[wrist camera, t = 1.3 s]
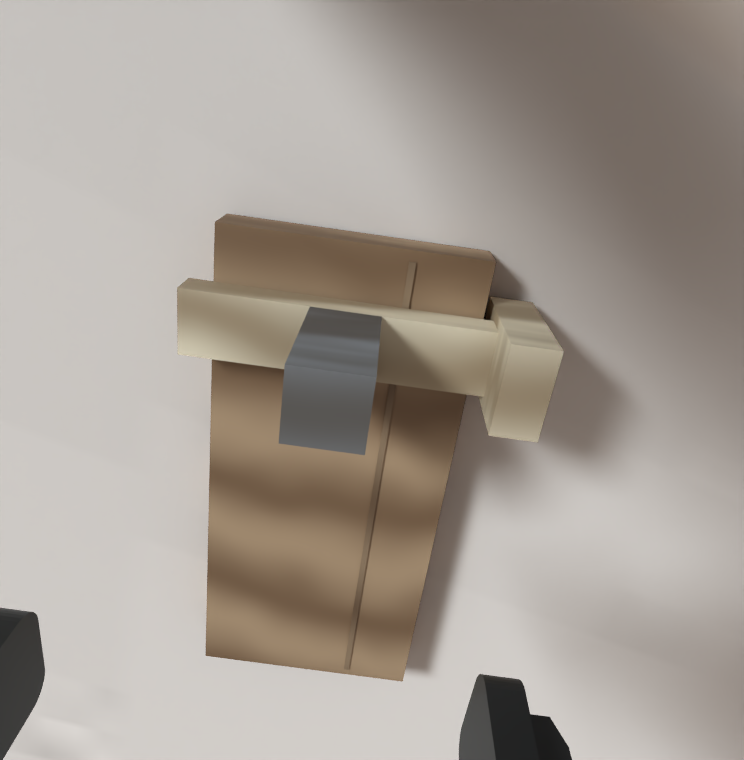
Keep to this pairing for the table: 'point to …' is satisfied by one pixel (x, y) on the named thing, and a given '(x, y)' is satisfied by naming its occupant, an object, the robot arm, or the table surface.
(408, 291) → the board
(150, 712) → the table surface
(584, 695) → the table surface
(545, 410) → the cream flanged bar
